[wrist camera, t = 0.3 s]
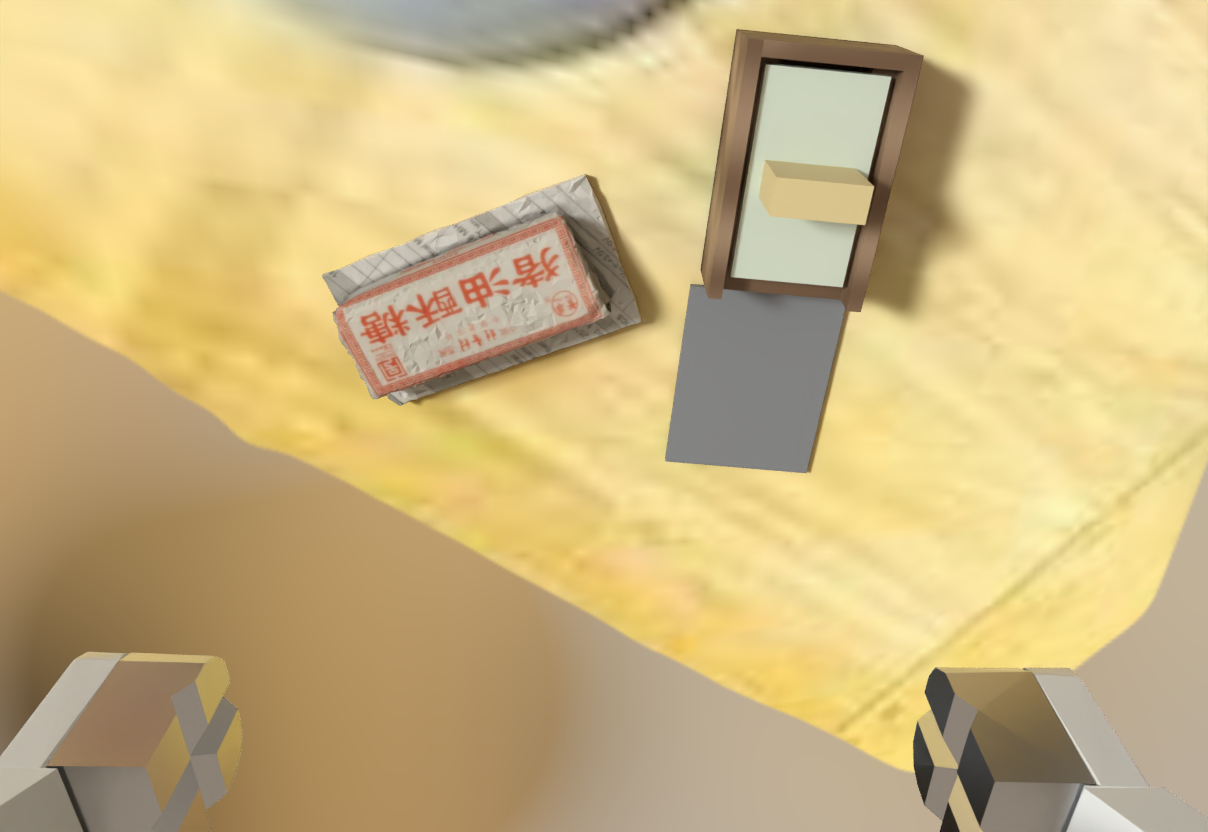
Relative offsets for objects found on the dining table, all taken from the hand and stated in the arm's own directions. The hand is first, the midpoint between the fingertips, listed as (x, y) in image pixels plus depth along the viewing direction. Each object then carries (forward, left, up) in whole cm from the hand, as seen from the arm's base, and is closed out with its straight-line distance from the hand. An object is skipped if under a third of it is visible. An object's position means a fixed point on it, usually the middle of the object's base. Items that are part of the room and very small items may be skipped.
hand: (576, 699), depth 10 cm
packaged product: (+13, -7, -47) cm, 49 cm away
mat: (+17, +11, -46) cm, 50 cm away
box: (+3, +11, -46) cm, 47 cm away
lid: (+3, +11, -42) cm, 44 cm away
